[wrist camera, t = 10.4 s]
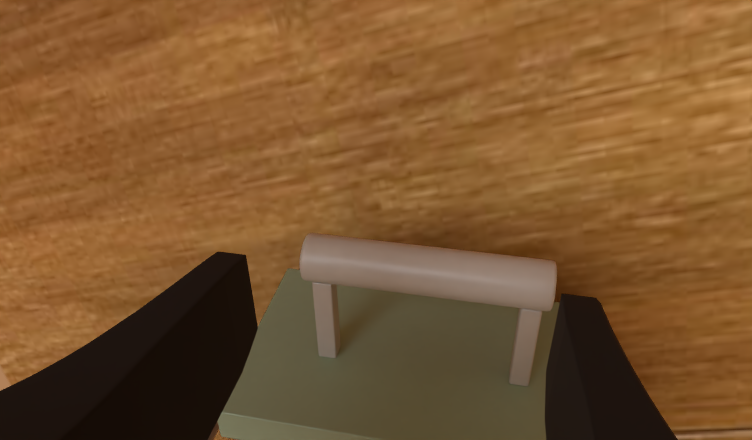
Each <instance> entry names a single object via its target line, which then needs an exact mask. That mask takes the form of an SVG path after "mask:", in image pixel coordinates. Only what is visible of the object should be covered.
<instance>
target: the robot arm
mask: <svg viewBox="0 0 752 440" xmlns="http://www.w3.org/2000/svg"><path fill="white" fill-rule="evenodd" d="M257 330H258V326H257V320H256V314H255V308H254V302H253V296H252V290H251V284H250V277H249V271H248V265H247V259H246V255H242V254H233V253H225V252H217V253H215V254H214V255H212V256H211V257H209V258H208V259H207V260H205V261H204V262H202V263H201V264H200V265H198V266H197V267H196V268H194V269H193V270H192V271H190V272H189V273H188V274H186V275H185V276H184V277H183V278H181V279H180V280H179V281H177V282H176V283H175V284H173V285H172V286H171V287H169V288H168V289H166V290H165V291H164V292H162V293H161V294H160V295H158V296H157V297H156V298H154V299H153V300H151V301H150V302H149V303H147V304H146V305H145V306H143V307H142V308H140V309H139V310H138V311H136V312H135V313H133V314H132V315H130V316H129V317H127V318H126V319H124V320H123V321H121V322H120V323H118V324H117V325H115V326H114V327H112V328H111V329H109V330H108V331H106V332H105V333H103V334H102V335H100V336H99V337H97V338H96V339H94V340H93V341H91V342H90V343H88V344H86V345H85V346H83V347H82V348H80V349H78V350H77V351H75V352H73V353H72V354H70V355H68V356H66V357H65V358H63V359H61V360H59V361H58V362H56V363H54V364H52V365H50V366H49V367H47V368H45V369H43V370H41V371H40V372H38V373H36V374H34V375H32V376H30V377H28V378H26V379H24V380H22V381H20V382H18V383H16V384H14V385H12V386H10V387H8V388H6V389H3V390H1V391H0V440H208V438H209V436H210V434H211V432H212V430H213V428H214V427H215V425H216V423H217V421H218V419H219V417H220V415H221V413H222V411H223V409H224V407H225V405H226V403H227V402H228V400H229V398H230V396H231V394H232V392H233V390H234V388H235V386H236V384H237V382H238V380H239V378H240V376H241V374H242V372H243V369H244V366H245V364H246V361H247V358H248V356H249V353H250V350H251V347H252V344H253V341H254V339H255V336H256V333H257ZM545 430H546V440H678V439H677V438H676V436H675V435H674V433H673V432H672V430H671V429H670V427H669V426H668V424H667V423H666V421H665V420H664V419H663V417H662V416H661V414H660V412H659V411H658V409H657V408H656V406H655V405H654V403H653V401H652V400H651V398H650V397H649V395H648V393H647V392H646V390H645V388H644V386H643V385H642V383H641V381H640V380H639V378H638V376H637V375H636V373H635V371H634V369H633V368H632V366H631V364H630V362H629V360H628V359H627V357H626V355H625V353H624V351H623V349H622V347H621V345H620V343H619V342H618V340H617V338H616V336H615V334H614V332H613V330H612V327H611V325H610V323H609V321H608V319H607V317H606V314H605V312H604V310H603V308H602V305H601V303H600V302H599V301H598V300H597V298H593V297H585V296H577V295H569V294H561V299H560V304H559V309H558V314H557V319H556V324H555V329H554V334H553V338H552V343H551V348H550V353H549V358H548V363H547V368H546V387H545Z"/></svg>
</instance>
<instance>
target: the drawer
mask: <svg viewBox="0 0 752 440" xmlns="http://www.w3.org/2000/svg"><path fill="white" fill-rule="evenodd" d="M556 284H557V265H556V262H555V261H553V260H546V259H537V258H528V257H519V256H510V255H502V254H493V253H484V252H475V251H467V250H458V249H449V248H440V247H431V246H423V245H414V244H405V243H396V242H387V241H379V240H370V239H361V238H352V237H343V236H335V235H326V234H317V233H310V234H308V235H307V236H306V238H305V240H304V242H303V245H302V249H301V254H300V270H297V269H287V271H286V273H285V275H284V277H283V279H282V281H281V283H280V285H279V287H278V289H277V291H276V293H275V295H274V296H273V298H272V300H271V302H270V304H269V306H268V308H267V310H266V312H265V314H264V316H263V318H262V320H261V322H260V324H259V326H258V330H257V333H256V336H255V339H254V341H253V344H252V347H251V350H250V353H249V356H248V358H247V361H246V364H245V366H244V369H243V372H242V374H241V376H240V378H239V380H238V382H237V384H236V386H235V388H234V390H233V392H232V394H231V396H230V398H229V400H228V402H227V403H226V405H225V407H224V409H223V411H222V413H221V415H220V417H219V419H218V426H219V430H220V434H221V436H222V437H227V438H233V439H238V440H546V430H545V387H546V368H547V363H548V358H549V353H550V348H551V343H552V338H553V334H554V329H555V324H556V319H557V314H558V309H559V304H560V302H554V299H555V293H556Z"/></svg>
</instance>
